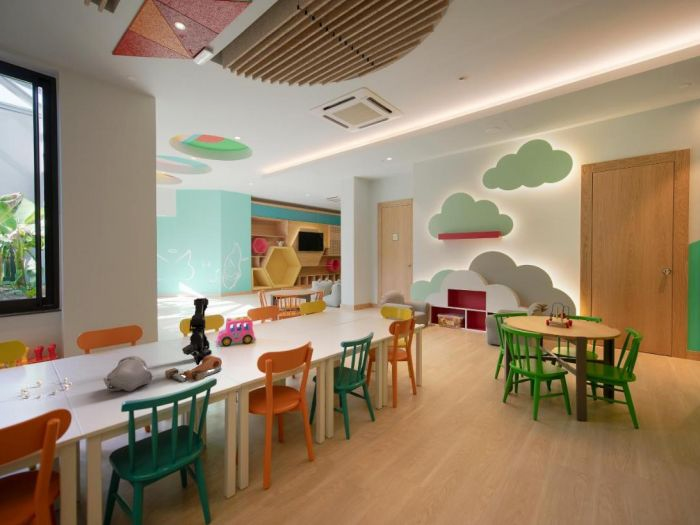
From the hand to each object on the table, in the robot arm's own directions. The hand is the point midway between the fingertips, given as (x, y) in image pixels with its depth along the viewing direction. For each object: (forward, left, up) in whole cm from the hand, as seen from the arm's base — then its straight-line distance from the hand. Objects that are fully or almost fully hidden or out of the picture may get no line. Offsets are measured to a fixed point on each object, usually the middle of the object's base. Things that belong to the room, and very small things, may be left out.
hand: (197, 364), depth 191 cm
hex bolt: (+2, -13, -4) cm, 14 cm away
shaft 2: (+11, -1, -4) cm, 12 cm away
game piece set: (-38, -57, -4) cm, 69 cm away
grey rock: (-6, -34, -4) cm, 35 cm away
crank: (+5, 0, -4) cm, 6 cm away
